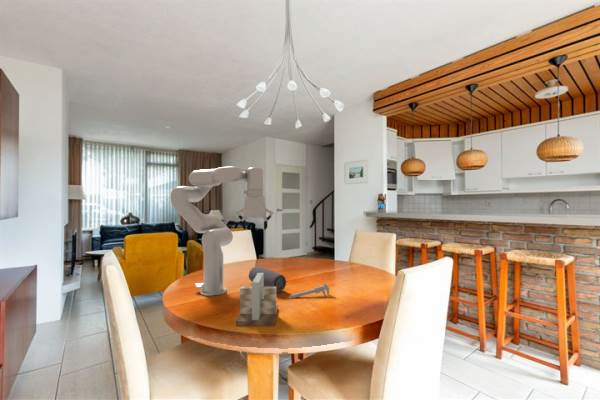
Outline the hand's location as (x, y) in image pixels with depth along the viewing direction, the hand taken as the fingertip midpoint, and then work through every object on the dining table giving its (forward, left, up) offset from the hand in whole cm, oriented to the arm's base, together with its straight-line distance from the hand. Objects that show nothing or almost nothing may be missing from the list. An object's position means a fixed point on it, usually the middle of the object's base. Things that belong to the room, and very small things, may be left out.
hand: (254, 229), depth 133 cm
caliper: (+26, +2, -33) cm, 42 cm away
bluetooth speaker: (+4, +14, -33) cm, 36 cm away
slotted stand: (+5, -22, -32) cm, 39 cm away
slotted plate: (+5, -22, -31) cm, 38 cm away
